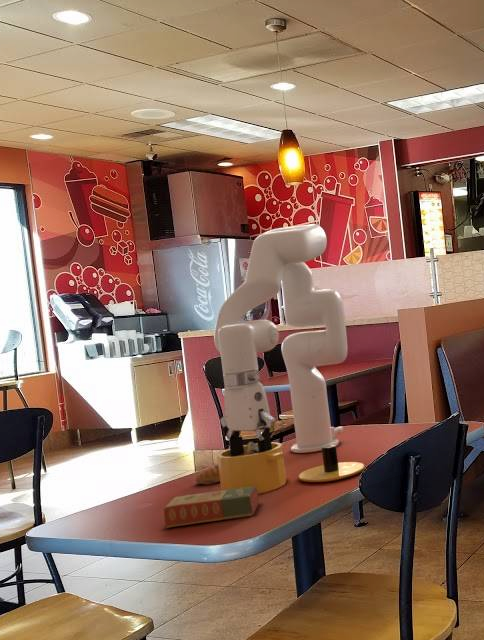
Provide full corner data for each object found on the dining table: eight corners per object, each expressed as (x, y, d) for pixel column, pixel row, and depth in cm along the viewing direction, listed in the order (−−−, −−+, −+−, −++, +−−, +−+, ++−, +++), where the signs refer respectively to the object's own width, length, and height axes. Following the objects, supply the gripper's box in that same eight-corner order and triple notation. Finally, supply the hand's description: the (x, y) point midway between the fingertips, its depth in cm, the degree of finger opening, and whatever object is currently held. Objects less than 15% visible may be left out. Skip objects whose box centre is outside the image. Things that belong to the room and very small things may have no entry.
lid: (332, 465, 179) (328, 438, 179) (377, 467, 171) (374, 439, 171) (285, 482, 167) (281, 453, 166) (332, 486, 159) (328, 455, 158)
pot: (250, 476, 176) (246, 441, 176) (307, 480, 166) (302, 443, 166) (201, 494, 165) (196, 456, 165) (258, 499, 155) (253, 459, 154)
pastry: (201, 487, 171) (199, 471, 171) (192, 483, 176) (190, 467, 176) (241, 477, 177) (239, 461, 177) (231, 474, 182) (229, 458, 182)
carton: (177, 516, 148) (174, 495, 148) (259, 504, 151) (257, 483, 150) (165, 529, 140) (162, 506, 140) (253, 516, 142) (250, 494, 142)
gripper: (281, 375, 163) (291, 453, 164) (230, 377, 173) (240, 450, 173) (254, 382, 157) (264, 462, 158) (202, 383, 166) (212, 459, 167)
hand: (251, 456), depth 166 cm, fingers open, 9 cm apart
